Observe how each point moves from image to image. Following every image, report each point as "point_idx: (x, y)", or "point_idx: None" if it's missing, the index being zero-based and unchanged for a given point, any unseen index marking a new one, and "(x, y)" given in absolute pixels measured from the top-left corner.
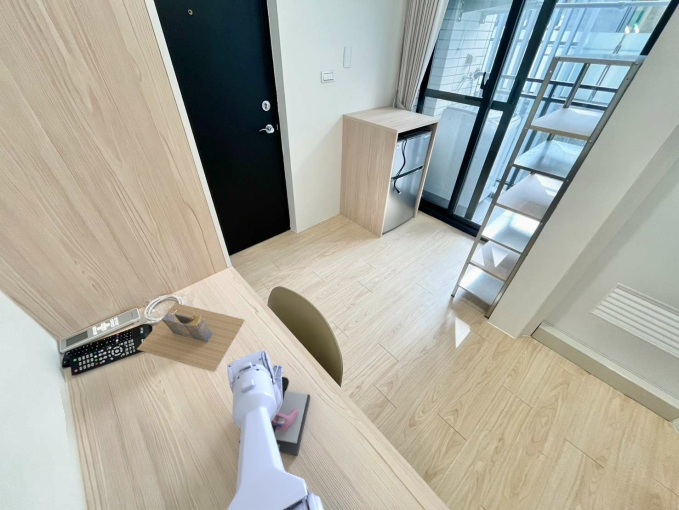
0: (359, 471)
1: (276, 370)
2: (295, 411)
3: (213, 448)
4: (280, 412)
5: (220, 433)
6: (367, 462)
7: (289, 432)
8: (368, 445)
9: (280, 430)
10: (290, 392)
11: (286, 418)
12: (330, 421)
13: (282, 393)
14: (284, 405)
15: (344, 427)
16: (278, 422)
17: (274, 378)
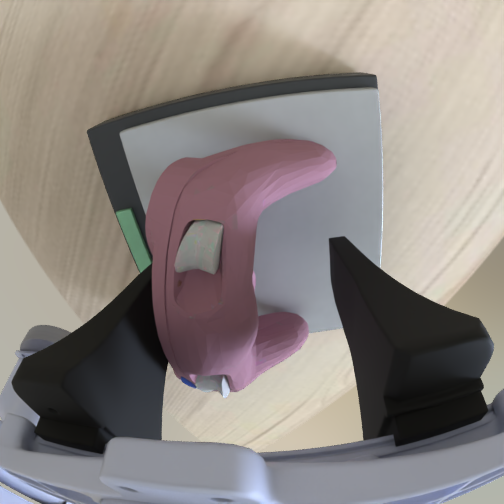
0: (222, 416)
1: (501, 473)
2: (291, 353)
3: (54, 29)
4: (276, 257)
5: (104, 8)
6: (243, 423)
7: None
8: (275, 421)
9: (179, 378)
10: (376, 262)
11: (236, 391)
12: (304, 364)
13: (355, 370)
14: (312, 262)
15: (298, 388)
16: (198, 386)
17: (438, 499)
